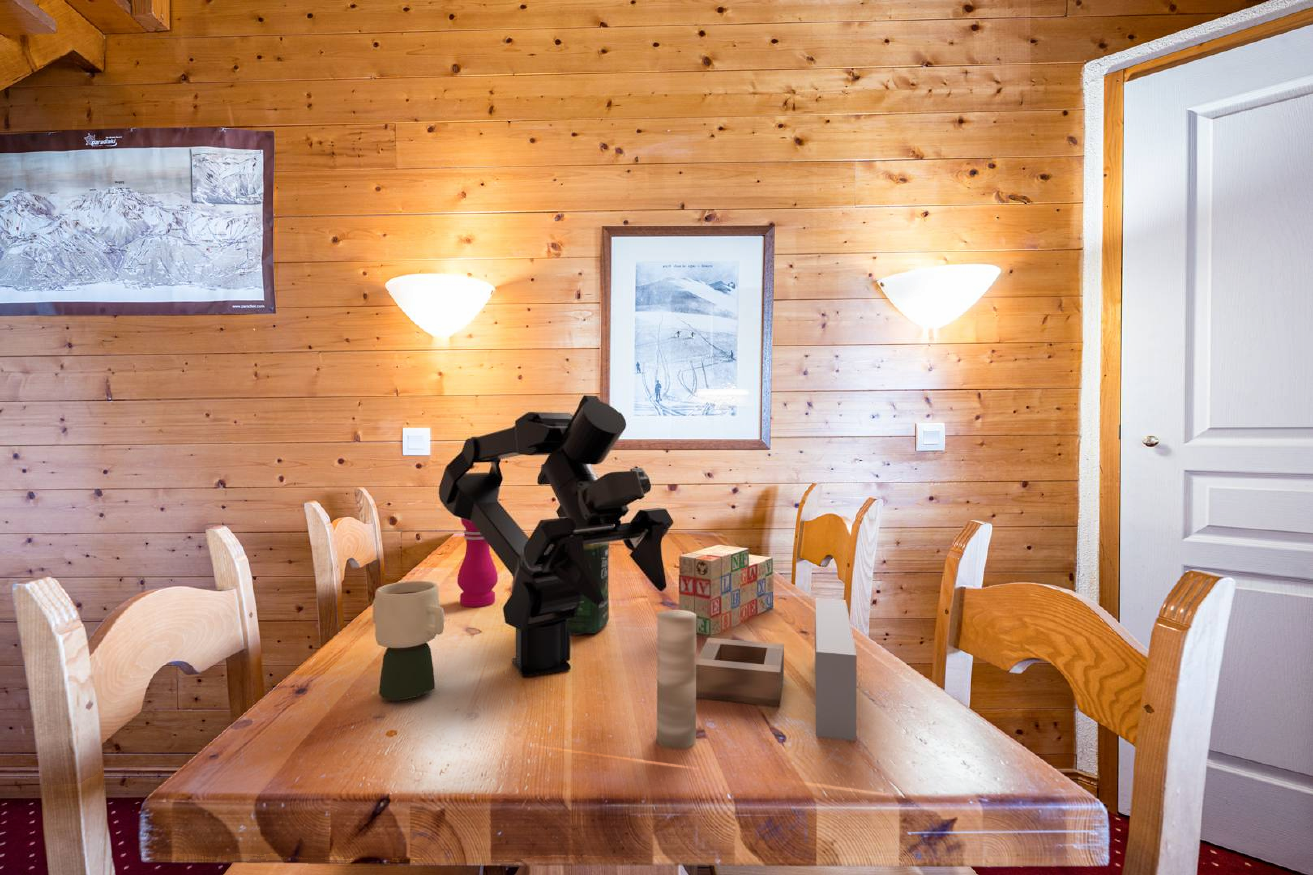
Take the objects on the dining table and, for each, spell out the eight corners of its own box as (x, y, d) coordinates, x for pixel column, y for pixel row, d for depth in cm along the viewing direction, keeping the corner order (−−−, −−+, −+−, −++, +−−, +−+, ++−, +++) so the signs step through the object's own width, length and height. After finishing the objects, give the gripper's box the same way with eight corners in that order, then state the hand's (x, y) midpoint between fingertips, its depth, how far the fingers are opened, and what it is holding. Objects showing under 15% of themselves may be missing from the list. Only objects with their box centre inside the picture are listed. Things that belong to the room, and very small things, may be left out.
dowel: (667, 754, 62) (668, 623, 62) (650, 736, 65) (650, 612, 65) (702, 745, 63) (703, 618, 63) (683, 728, 67) (684, 608, 67)
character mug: (463, 691, 76) (463, 585, 76) (419, 715, 70) (420, 599, 70) (396, 676, 81) (396, 576, 81) (349, 698, 74) (349, 589, 74)
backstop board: (815, 737, 65) (816, 651, 65) (815, 662, 87) (815, 597, 87) (856, 742, 64) (856, 655, 64) (845, 665, 86) (845, 599, 86)
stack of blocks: (743, 602, 118) (744, 537, 118) (774, 608, 114) (774, 540, 114) (678, 630, 101) (678, 554, 101) (710, 638, 97) (711, 559, 97)
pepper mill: (482, 595, 121) (482, 492, 121) (505, 602, 117) (506, 495, 117) (449, 603, 116) (449, 495, 116) (472, 610, 111) (472, 498, 111)
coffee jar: (598, 638, 97) (598, 518, 96) (549, 634, 98) (550, 516, 98) (614, 619, 106) (615, 510, 106) (570, 616, 108) (570, 509, 107)
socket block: (694, 697, 74) (694, 664, 74) (707, 667, 84) (708, 637, 84) (779, 706, 72) (780, 672, 72) (783, 674, 82) (783, 644, 82)
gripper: (538, 446, 68) (598, 566, 60) (664, 444, 80) (728, 543, 72) (502, 510, 74) (551, 627, 66) (624, 500, 86) (679, 596, 78)
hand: (633, 595), depth 70 cm, fingers open, 9 cm apart
